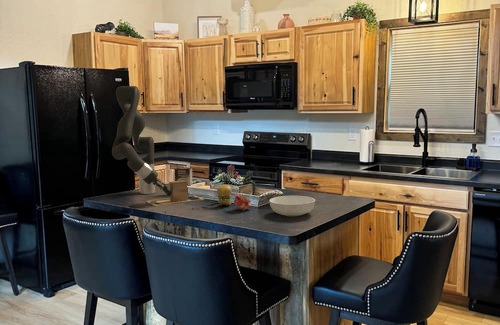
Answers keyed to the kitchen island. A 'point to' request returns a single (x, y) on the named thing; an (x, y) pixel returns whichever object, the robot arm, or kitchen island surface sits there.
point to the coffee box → (184, 174)
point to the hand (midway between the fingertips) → (170, 194)
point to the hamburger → (224, 194)
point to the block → (178, 191)
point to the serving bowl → (292, 205)
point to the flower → (241, 202)
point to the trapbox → (168, 202)
